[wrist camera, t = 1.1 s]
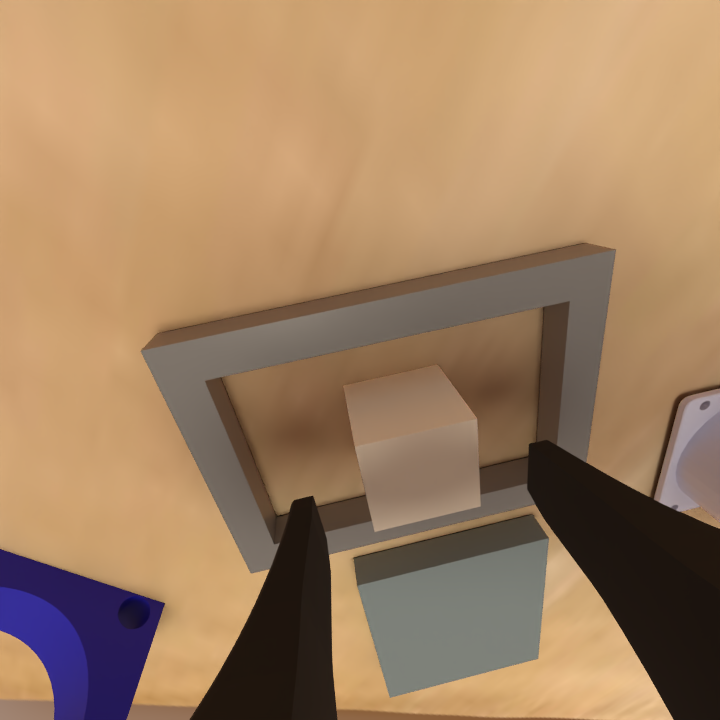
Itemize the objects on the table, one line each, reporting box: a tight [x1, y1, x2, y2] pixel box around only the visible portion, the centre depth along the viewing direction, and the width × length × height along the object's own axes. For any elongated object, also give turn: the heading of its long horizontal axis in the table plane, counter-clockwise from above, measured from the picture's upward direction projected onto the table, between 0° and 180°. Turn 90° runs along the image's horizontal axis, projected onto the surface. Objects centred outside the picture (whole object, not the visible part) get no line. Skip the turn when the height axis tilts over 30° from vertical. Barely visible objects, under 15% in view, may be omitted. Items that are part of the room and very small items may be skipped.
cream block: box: [343, 364, 481, 532], centre depth 14 cm, size 4×4×4 cm
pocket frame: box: [141, 243, 616, 573], centre depth 15 cm, size 16×12×2 cm
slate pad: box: [354, 515, 549, 698], centre depth 22 cm, size 10×12×2 cm
